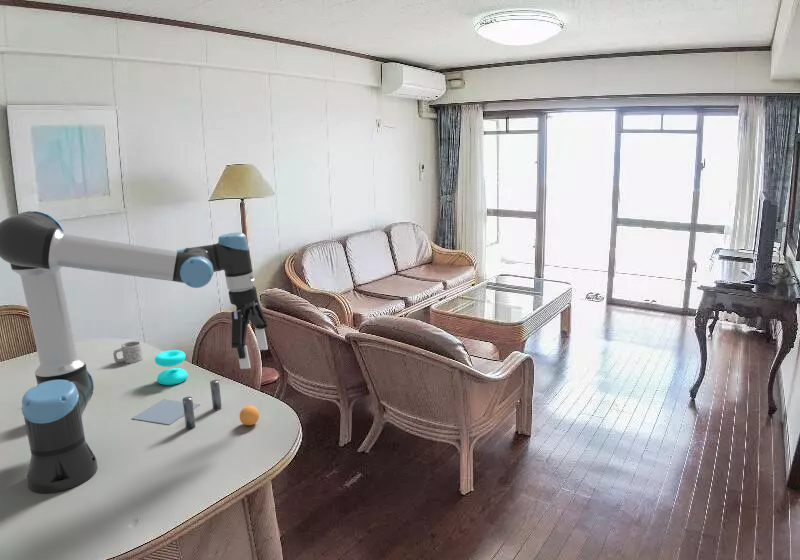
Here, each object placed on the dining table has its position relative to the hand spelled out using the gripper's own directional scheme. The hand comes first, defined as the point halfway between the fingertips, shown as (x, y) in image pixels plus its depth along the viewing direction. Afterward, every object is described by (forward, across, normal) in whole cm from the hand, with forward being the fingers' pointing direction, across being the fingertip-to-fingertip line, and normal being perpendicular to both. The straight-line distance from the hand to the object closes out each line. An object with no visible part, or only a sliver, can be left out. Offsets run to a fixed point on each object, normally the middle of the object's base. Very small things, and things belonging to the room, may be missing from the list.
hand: (254, 358), depth 167 cm
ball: (+16, -4, +3) cm, 17 cm away
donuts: (+17, +26, +44) cm, 53 cm away
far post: (+18, +6, +18) cm, 26 cm away
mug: (+16, +42, +71) cm, 84 cm away
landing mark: (+17, +2, +33) cm, 37 cm away
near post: (+18, -7, +20) cm, 28 cm away
